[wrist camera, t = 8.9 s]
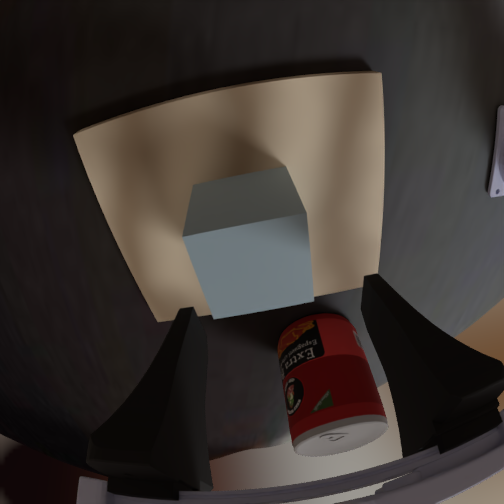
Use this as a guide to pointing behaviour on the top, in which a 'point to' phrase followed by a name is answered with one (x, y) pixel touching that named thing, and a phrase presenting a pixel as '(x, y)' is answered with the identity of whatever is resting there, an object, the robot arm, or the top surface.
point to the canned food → (328, 387)
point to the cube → (249, 243)
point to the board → (242, 162)
